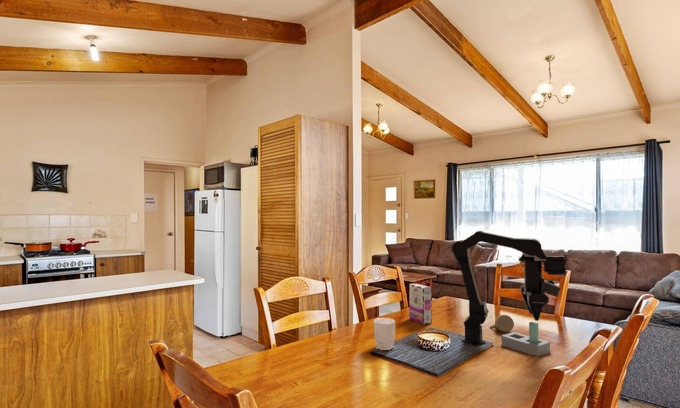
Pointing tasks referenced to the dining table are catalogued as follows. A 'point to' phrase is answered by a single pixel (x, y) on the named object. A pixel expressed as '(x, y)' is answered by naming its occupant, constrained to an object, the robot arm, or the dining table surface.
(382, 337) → the white cup
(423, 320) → the candy bar box
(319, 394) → the dining table surface
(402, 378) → the dining table surface
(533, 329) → the peg
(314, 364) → the dining table surface
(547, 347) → the block
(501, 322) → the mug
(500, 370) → the dining table surface
